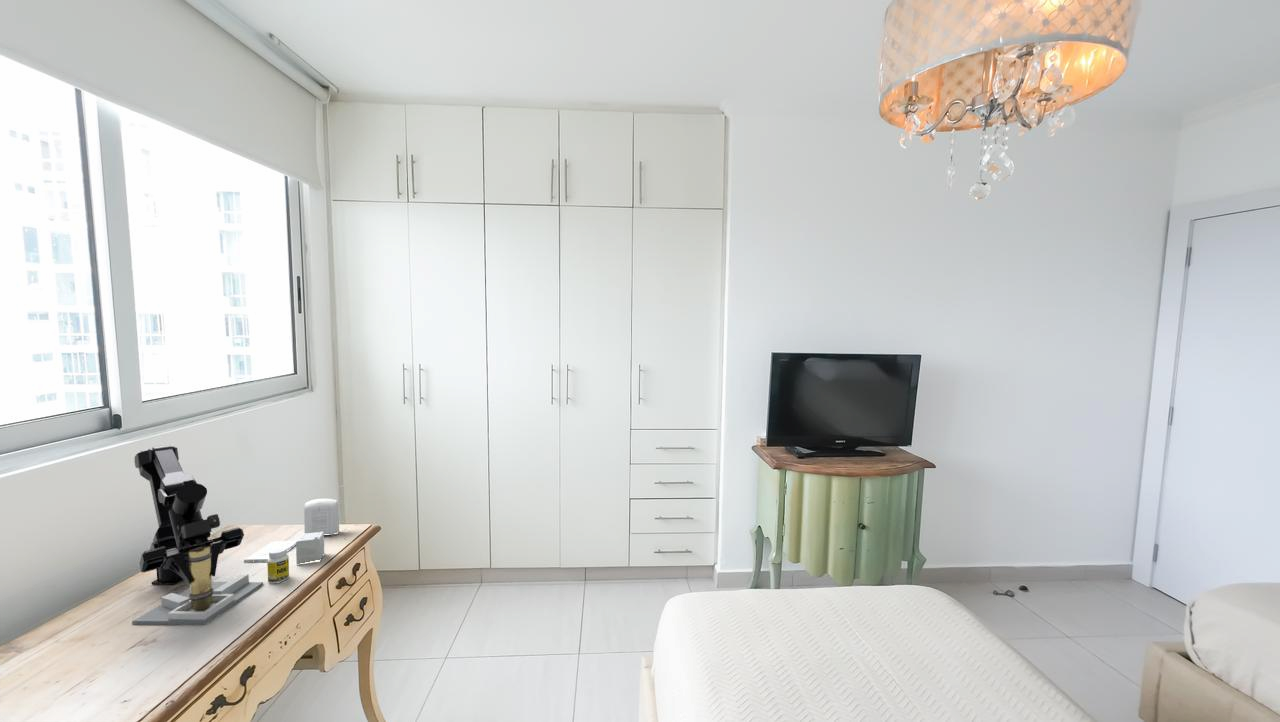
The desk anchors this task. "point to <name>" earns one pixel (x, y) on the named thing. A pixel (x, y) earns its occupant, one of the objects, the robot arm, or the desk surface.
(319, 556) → the skincare box
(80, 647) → the desk surface
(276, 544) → the external hard drive
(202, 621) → the coupling station
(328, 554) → the desk surface
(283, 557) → the supplement bottle
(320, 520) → the photo printer
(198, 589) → the disc
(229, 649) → the desk surface
